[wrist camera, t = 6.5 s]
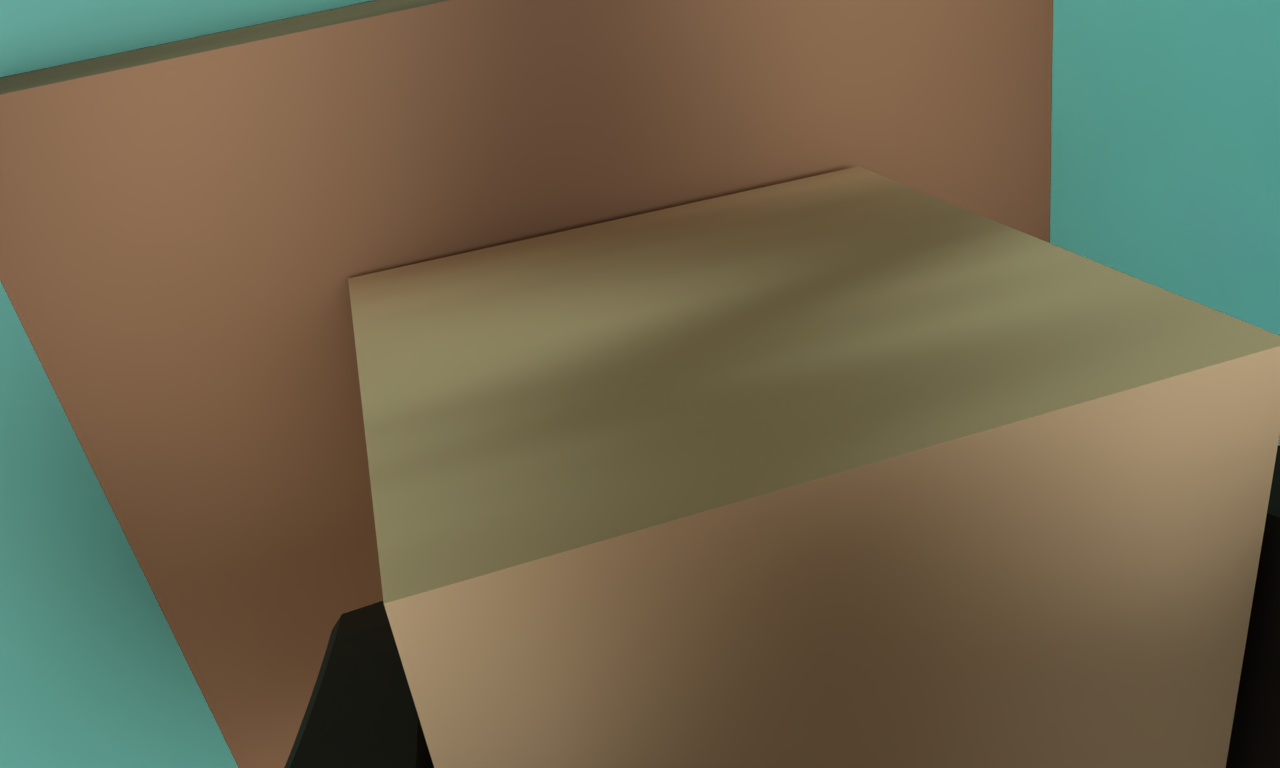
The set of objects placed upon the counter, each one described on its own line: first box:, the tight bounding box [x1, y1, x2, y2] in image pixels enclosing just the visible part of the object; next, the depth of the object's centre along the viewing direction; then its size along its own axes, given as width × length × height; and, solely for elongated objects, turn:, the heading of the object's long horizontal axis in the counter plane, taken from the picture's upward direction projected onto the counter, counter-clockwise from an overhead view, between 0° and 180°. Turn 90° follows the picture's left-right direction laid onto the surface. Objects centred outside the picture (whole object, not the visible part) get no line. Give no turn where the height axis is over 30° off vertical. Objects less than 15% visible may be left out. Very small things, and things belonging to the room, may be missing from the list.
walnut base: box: [0, 0, 1053, 768], centre depth 12 cm, size 10×10×2 cm
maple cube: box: [348, 166, 1280, 768], centre depth 8 cm, size 5×5×5 cm
